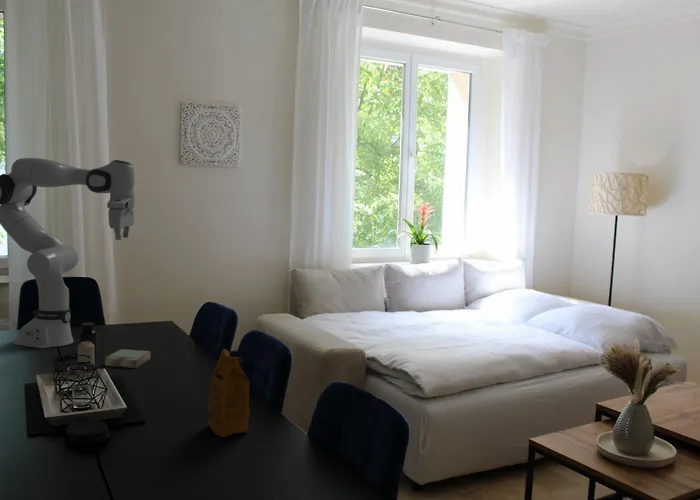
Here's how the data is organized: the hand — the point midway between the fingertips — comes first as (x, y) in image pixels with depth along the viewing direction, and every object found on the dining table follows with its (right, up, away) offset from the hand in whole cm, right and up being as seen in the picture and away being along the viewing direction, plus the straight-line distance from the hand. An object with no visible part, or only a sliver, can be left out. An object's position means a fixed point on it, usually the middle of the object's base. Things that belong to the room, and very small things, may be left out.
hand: (122, 238), depth 253 cm
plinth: (+6, -46, -10) cm, 48 cm away
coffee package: (+54, -55, -69) cm, 104 cm away
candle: (-6, -47, -21) cm, 52 cm away
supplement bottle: (-12, -45, -2) cm, 46 cm away
